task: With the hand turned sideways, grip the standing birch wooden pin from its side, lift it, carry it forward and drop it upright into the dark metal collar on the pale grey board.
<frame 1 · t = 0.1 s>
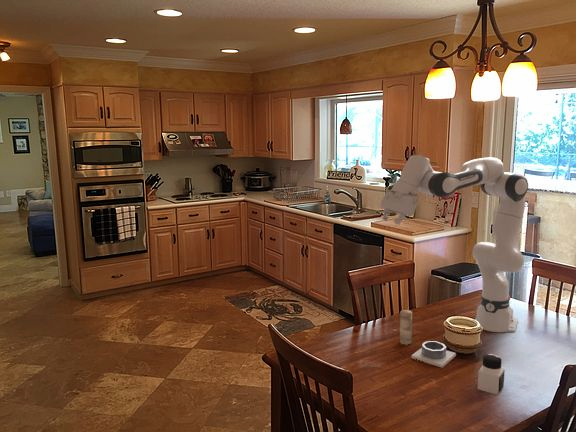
hand: (390, 222, 196), 54 cm above the table, tool tilted 30°, fingers open, 8 cm apart
wooden pin: (405, 342, 208), on the table
socket board: (433, 356, 195), on the table
medicine bottle: (490, 388, 170), on the table
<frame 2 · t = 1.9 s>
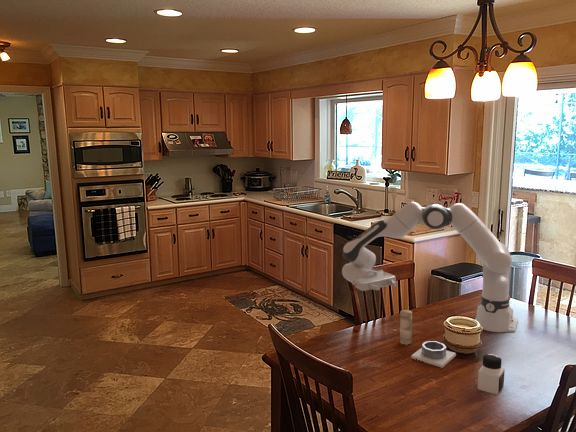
hand: (387, 286, 215), 22 cm above the table, tool horizontal, fingers open, 8 cm apart
nothing on the table moved.
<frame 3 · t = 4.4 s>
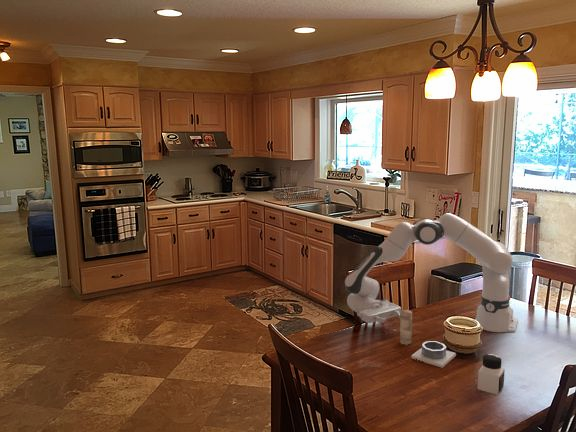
hand: (392, 318, 214), 8 cm above the table, tool horizontal, fingers open, 8 cm apart
nothing on the table moved.
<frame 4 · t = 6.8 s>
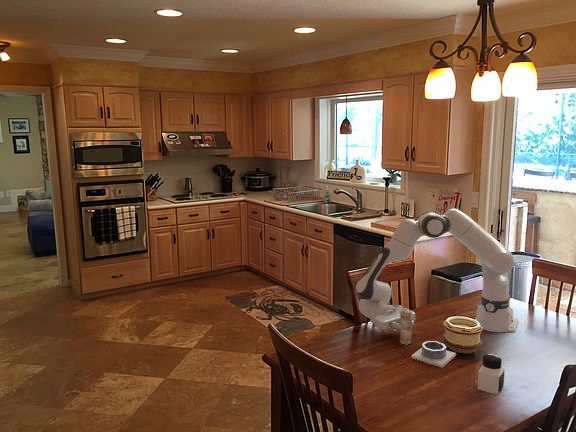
hand: (407, 325, 206), 8 cm above the table, tool horizontal, fingers closed on wooden pin, 5 cm apart
wooden pin: (405, 342, 208), on the table, touching gripper
everything else where it was.
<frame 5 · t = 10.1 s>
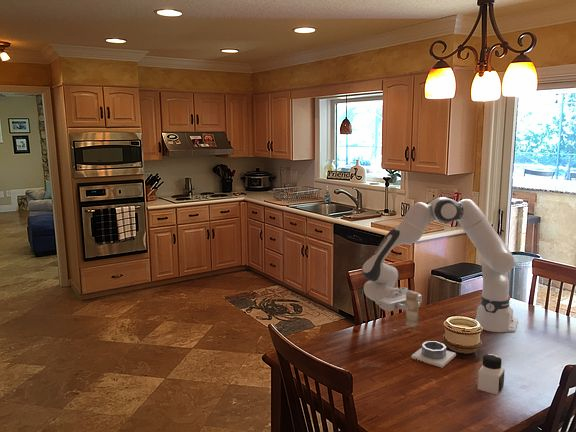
hand: (413, 306, 202), 18 cm above the table, tool horizontal, fingers closed on wooden pin, 5 cm apart
wooden pin: (411, 324, 204), point 9 cm above the table, touching gripper
everything else where it was.
when the fingers open (11 cm above the table, at t = 13.3 s): wooden pin drops 1 cm, resting on socket board.
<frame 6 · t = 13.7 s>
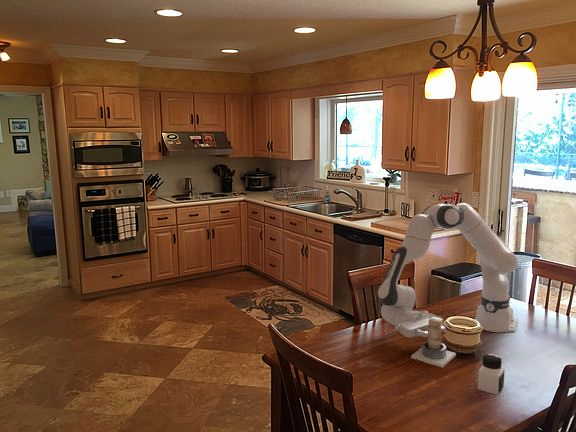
hand: (436, 332, 192), 11 cm above the table, tool horizontal, fingers open, 8 cm apart
wooden pin: (434, 354, 194), point 1 cm above the table, touching socket board
everything else where it was.
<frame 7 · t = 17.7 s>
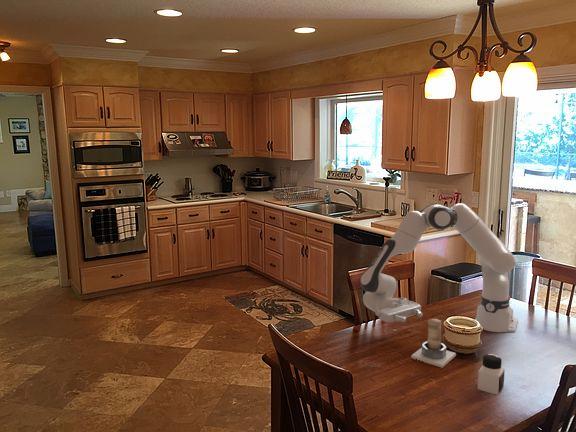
hand: (413, 317, 203), 13 cm above the table, tool horizontal, fingers open, 8 cm apart
nothing on the table moved.
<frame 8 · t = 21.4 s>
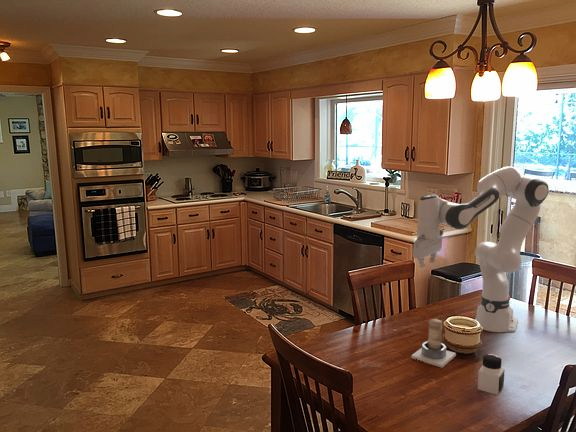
hand: (427, 264, 205), 34 cm above the table, tool pointing down, fingers open, 8 cm apart
nothing on the table moved.
at the end: wooden pin 0.2 cm off-centre on the socket board, point 1.3 cm above the socket board's base; wooden pin tilted 2°; the gripper is holding nothing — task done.
